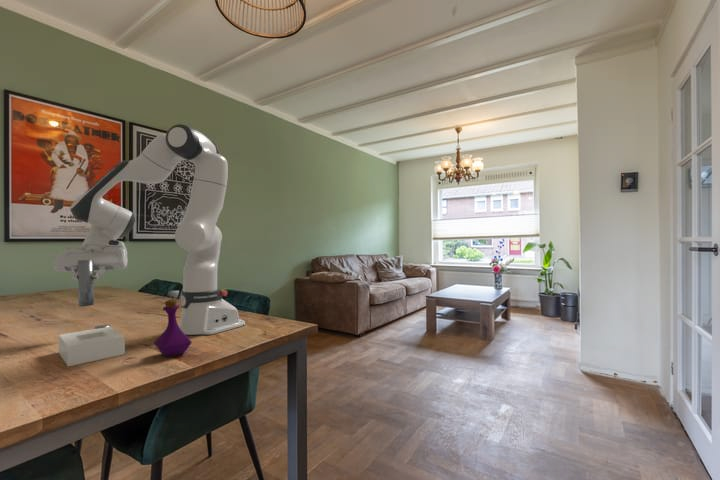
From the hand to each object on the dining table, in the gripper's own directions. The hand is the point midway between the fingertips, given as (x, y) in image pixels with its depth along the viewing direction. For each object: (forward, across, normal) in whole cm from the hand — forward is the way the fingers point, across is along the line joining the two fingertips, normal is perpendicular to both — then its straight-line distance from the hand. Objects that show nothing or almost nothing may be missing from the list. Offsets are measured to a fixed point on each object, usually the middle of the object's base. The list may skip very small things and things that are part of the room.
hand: (85, 278), depth 108 cm
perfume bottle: (+34, +31, -5) cm, 46 cm away
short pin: (+18, +7, +10) cm, 21 cm away
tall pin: (+6, 0, +7) cm, 9 cm away
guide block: (+28, +9, 0) cm, 29 cm away
